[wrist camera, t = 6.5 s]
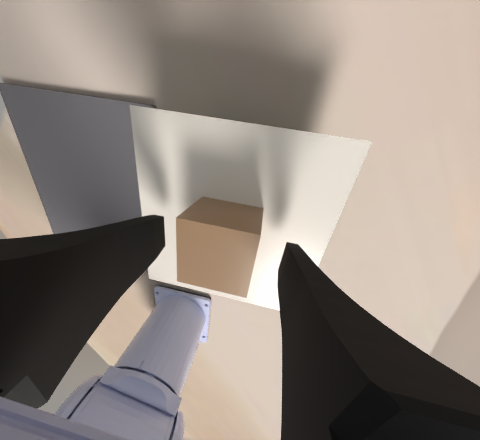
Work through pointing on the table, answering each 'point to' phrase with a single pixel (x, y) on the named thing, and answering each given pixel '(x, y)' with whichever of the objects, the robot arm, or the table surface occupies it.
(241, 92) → the table surface
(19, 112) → the mat
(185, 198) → the lid
